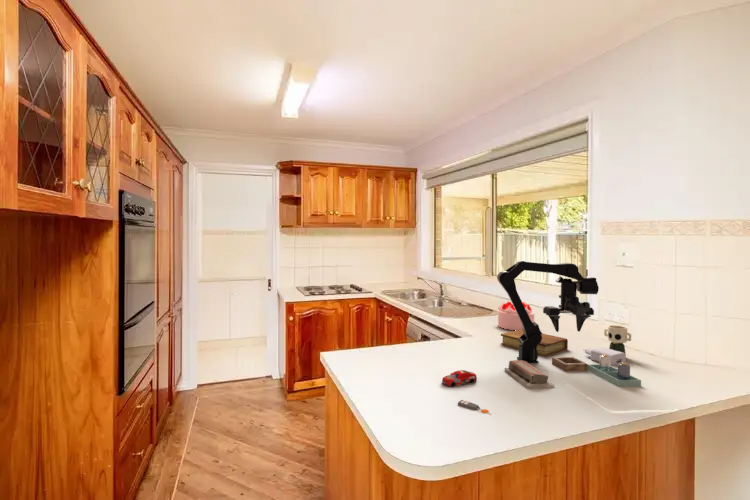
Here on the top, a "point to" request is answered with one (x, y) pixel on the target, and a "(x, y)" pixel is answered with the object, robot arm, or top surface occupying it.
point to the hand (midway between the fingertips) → (567, 331)
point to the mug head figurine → (617, 337)
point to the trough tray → (613, 376)
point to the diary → (544, 348)
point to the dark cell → (623, 371)
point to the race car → (459, 378)
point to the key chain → (471, 406)
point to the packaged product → (528, 375)
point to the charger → (615, 355)
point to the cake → (512, 316)
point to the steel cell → (604, 363)
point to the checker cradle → (569, 364)
